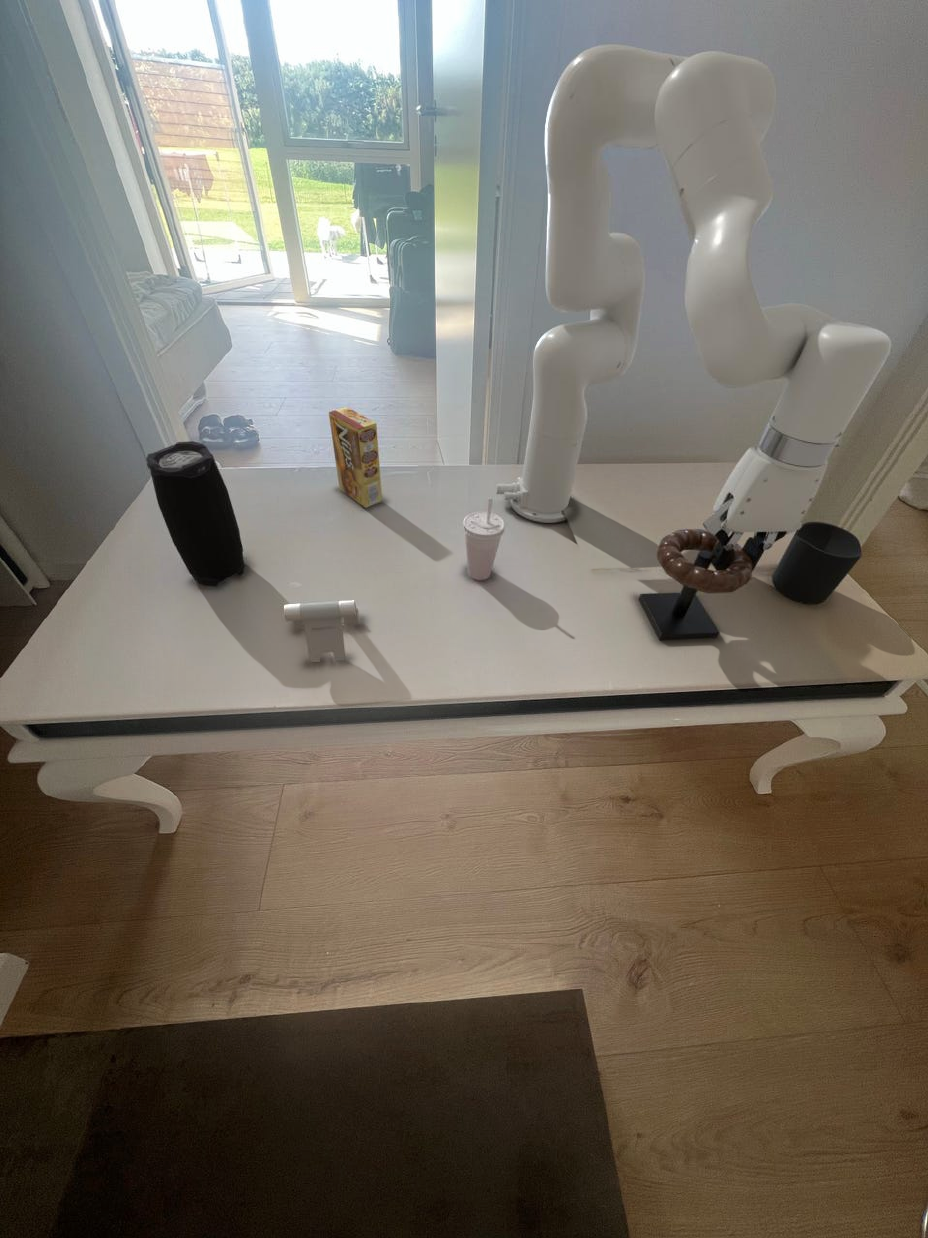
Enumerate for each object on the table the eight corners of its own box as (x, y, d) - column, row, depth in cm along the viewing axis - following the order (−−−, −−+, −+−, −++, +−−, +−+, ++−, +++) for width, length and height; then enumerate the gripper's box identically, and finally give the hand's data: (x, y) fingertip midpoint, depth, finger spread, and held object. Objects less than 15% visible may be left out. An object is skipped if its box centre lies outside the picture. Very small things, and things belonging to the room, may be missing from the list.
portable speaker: (178, 587, 78) (127, 468, 65) (205, 550, 85) (163, 435, 72) (234, 592, 78) (195, 474, 65) (257, 555, 85) (225, 440, 71)
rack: (659, 640, 76) (688, 575, 68) (638, 599, 83) (662, 535, 74) (716, 638, 77) (753, 574, 69) (691, 597, 84) (722, 534, 75)
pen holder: (841, 599, 85) (879, 550, 78) (800, 613, 82) (835, 563, 75) (796, 565, 91) (827, 517, 84) (756, 576, 88) (784, 527, 81)
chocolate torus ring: (675, 599, 68) (683, 581, 66) (642, 542, 77) (648, 525, 75) (763, 596, 70) (773, 579, 67) (721, 541, 78) (729, 524, 76)
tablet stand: (359, 618, 76) (354, 574, 70) (360, 659, 70) (354, 614, 65) (297, 622, 75) (287, 577, 69) (294, 664, 69) (282, 619, 63)
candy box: (383, 501, 99) (378, 422, 88) (365, 509, 96) (357, 429, 86) (355, 482, 103) (347, 405, 92) (337, 490, 101) (327, 411, 90)
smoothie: (495, 588, 82) (505, 512, 73) (455, 581, 83) (460, 505, 73) (501, 564, 87) (511, 489, 77) (463, 557, 88) (469, 483, 78)
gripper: (839, 430, 65) (770, 550, 77) (714, 429, 63) (664, 552, 75) (880, 460, 59) (798, 583, 72) (745, 459, 57) (685, 586, 70)
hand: (730, 566), depth 74 cm, fingers closed on chocolate torus ring, 3 cm apart
